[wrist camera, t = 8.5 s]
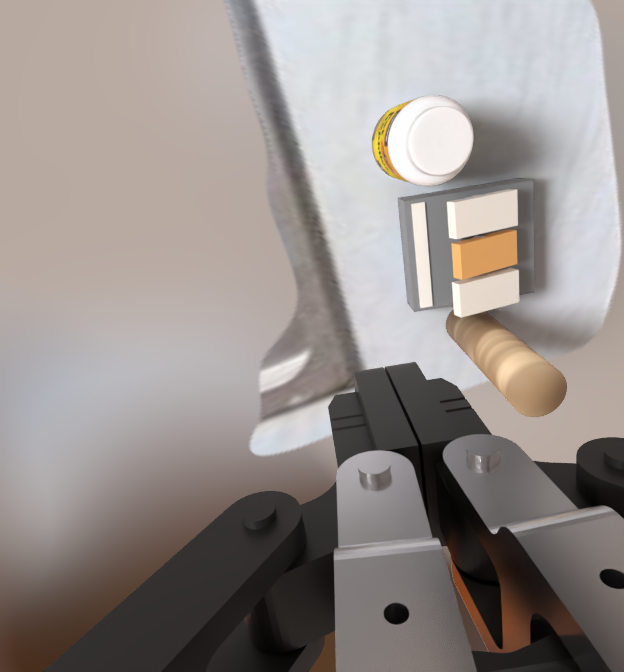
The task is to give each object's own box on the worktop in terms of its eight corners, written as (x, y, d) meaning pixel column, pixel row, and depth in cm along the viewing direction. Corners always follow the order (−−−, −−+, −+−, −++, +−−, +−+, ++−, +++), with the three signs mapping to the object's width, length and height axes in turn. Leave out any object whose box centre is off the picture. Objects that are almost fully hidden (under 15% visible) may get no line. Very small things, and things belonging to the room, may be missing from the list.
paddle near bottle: (443, 201, 38) (454, 202, 37) (504, 189, 39) (517, 189, 38) (445, 237, 39) (456, 239, 37) (505, 223, 40) (518, 225, 39)
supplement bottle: (371, 103, 40) (398, 89, 30) (443, 104, 40) (492, 90, 30) (368, 179, 42) (393, 189, 32) (437, 179, 42) (482, 189, 32)
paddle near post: (448, 281, 40) (459, 284, 39) (506, 266, 41) (518, 269, 40) (450, 312, 41) (461, 317, 39) (507, 298, 42) (519, 302, 41)
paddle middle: (447, 242, 39) (460, 244, 37) (502, 228, 40) (516, 230, 39) (449, 276, 40) (462, 279, 38) (503, 261, 41) (517, 264, 40)
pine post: (444, 307, 46) (510, 370, 32) (485, 300, 46) (567, 361, 32) (447, 345, 47) (511, 421, 34) (486, 338, 47) (566, 412, 34)
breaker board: (397, 198, 42) (408, 202, 39) (519, 178, 42) (541, 181, 39) (407, 303, 45) (418, 316, 42) (521, 284, 45) (542, 296, 42)
